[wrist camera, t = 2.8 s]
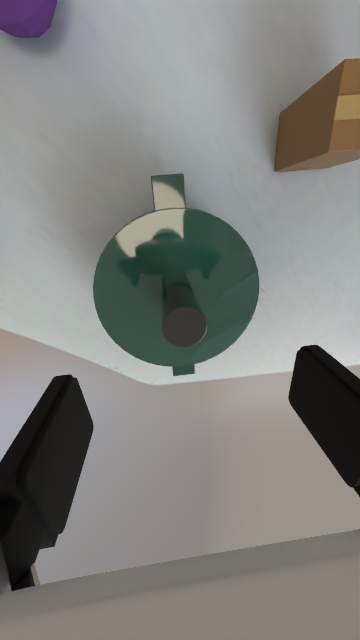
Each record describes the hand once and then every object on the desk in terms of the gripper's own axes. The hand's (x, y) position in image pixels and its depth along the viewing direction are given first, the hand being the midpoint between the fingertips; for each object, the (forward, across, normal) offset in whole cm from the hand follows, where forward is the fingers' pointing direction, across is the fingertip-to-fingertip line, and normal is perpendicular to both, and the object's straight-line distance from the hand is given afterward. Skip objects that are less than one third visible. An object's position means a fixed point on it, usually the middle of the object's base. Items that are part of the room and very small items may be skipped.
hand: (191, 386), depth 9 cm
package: (+18, -14, -12) cm, 26 cm away
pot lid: (+11, 0, 0) cm, 11 cm away
